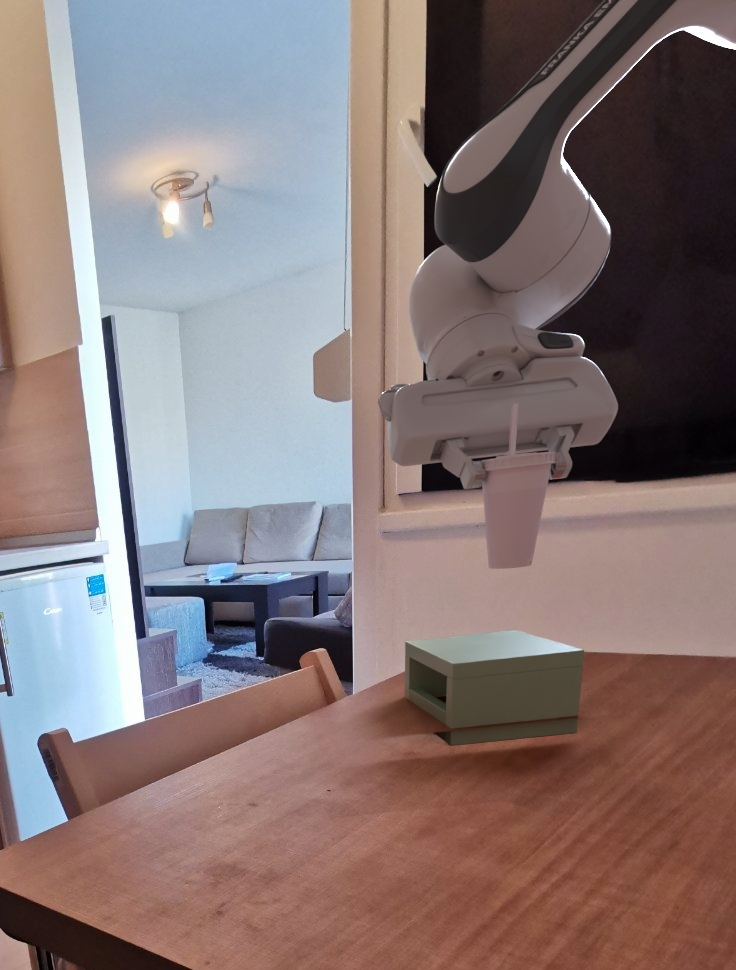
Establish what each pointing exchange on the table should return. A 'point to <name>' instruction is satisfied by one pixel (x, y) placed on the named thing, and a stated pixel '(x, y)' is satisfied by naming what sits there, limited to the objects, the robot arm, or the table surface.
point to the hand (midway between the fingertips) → (518, 478)
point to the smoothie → (514, 502)
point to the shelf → (495, 684)
